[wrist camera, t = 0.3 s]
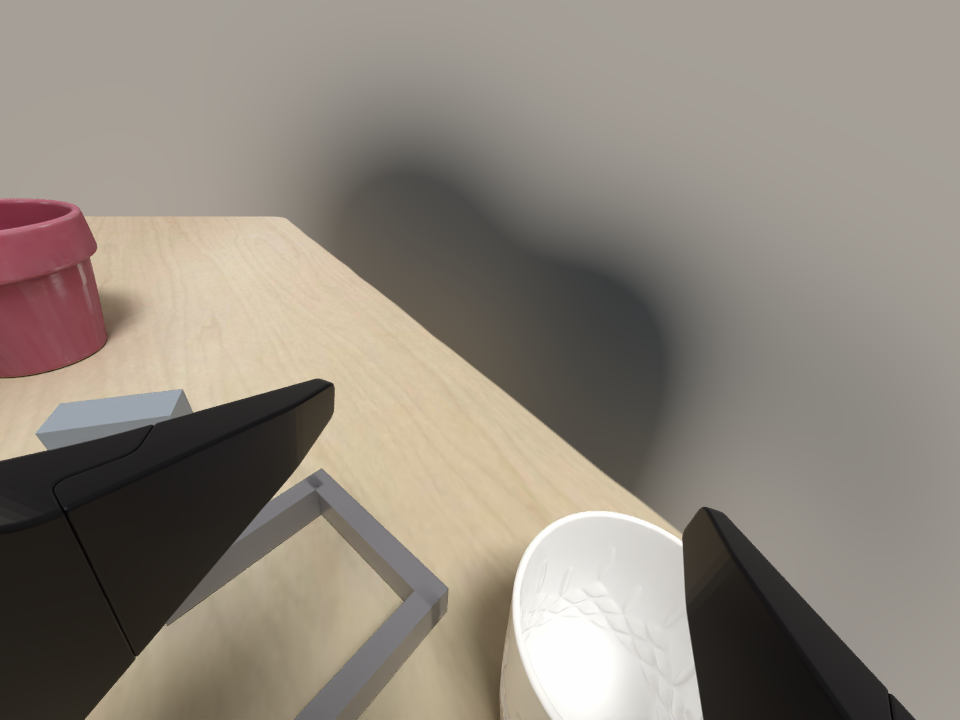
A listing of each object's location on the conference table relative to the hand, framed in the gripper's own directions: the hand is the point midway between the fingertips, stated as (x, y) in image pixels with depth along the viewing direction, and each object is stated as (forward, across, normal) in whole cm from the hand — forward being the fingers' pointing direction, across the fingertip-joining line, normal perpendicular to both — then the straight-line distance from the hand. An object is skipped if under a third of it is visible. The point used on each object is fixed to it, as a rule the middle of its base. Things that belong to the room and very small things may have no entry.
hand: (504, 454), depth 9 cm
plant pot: (+16, +45, +20) cm, 51 cm away
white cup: (+2, -7, +16) cm, 17 cm away
